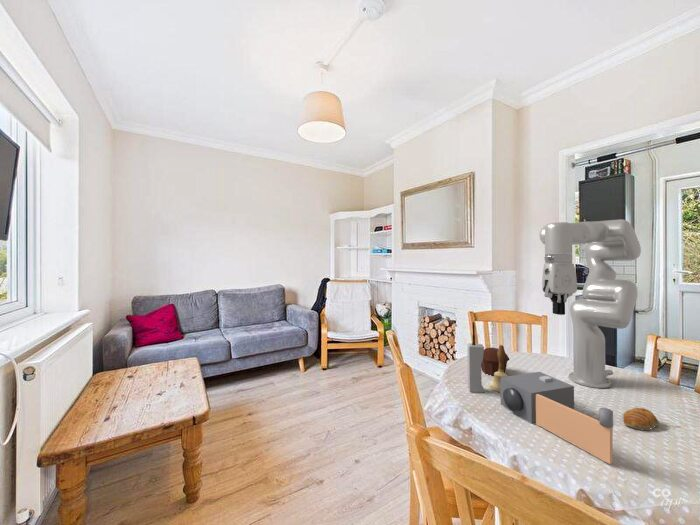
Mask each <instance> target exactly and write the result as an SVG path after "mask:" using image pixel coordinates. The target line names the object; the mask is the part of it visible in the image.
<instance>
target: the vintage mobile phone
mask: <svg viewBox="0 0 700 525" xmlns="http://www.w3.org/2000/svg"><path fill="white" fill-rule="evenodd" d="M475 329H476V327H475V322H474V321H473V322H472V342H471V343H467V344H466V345H467V347H466V348H467V349H466V350H467V353H466V354H467V388H468V390H469V392H470V393H479V394H480V393H481V394H483V393H484V394H485V388H484V385H483V384H482V383H483V382H482V368H481V363H482V361H483V353H484V349H485V346H484V344H482V343H476V334H475V333H476V332H475Z"/></svg>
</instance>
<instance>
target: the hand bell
mask: <svg viewBox="0 0 700 525" xmlns="http://www.w3.org/2000/svg"><path fill="white" fill-rule="evenodd" d="M497 349H498V352H497V356H498V360H499V369H498V371H497V372H495V373H494V376H493V379H492V380H491V382H490V383H489V384H488V388H489V389H491V390H493V391H494V392H498V393H501V379H500V377H506V376H509V375H508V373H506V372H505V373H504V364H503V363H504V359H505V353H506V351H505V347H504V345H502V344H500V345H499V346H498V348H497Z"/></svg>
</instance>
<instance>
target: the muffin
mask: <svg viewBox="0 0 700 525" xmlns="http://www.w3.org/2000/svg"><path fill="white" fill-rule="evenodd" d="M497 352H498V348H496V347H486V348H484V353H483V361H482V363H481V372H482V371H483V372H484V374H485V375H486V374H488V375H487V376H490V375H491V376H490V377H494V373H495V372H497V371H498V369H499V360H498V356H497ZM509 361H510V358H509V356H508V354H507V353H506V352H505V359H504V363H503V364H504V373H506V372H507V365H508V362H509ZM483 372H482V373H483Z"/></svg>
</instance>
